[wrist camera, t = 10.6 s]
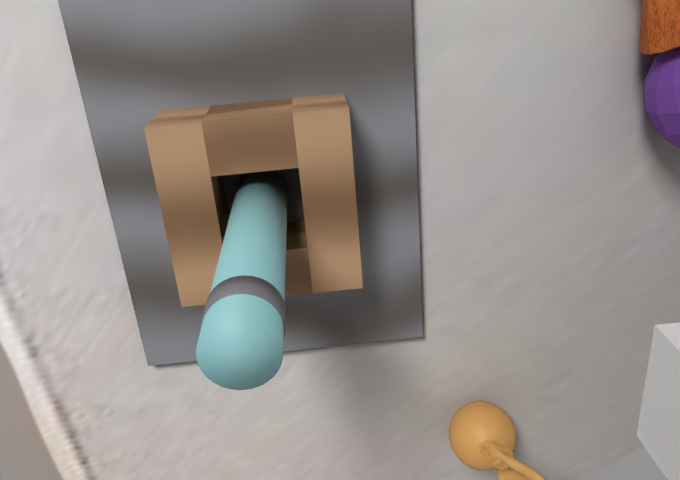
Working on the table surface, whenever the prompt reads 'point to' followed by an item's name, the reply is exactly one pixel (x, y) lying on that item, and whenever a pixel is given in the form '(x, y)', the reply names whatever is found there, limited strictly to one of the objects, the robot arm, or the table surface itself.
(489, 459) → the figurine
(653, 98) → the kendama
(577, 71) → the table surface
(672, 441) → the robot arm
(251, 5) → the gray base plate
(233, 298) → the banded teal rod
